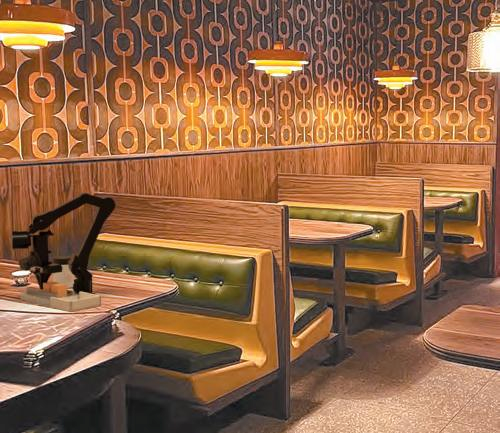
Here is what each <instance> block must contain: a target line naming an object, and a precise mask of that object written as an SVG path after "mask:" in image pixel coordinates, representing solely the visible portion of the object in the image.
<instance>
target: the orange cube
mask: <svg viewBox="0 0 500 433" xmlns="http://www.w3.org/2000/svg"><path fill="white" fill-rule="evenodd" d="M67 290H68V288H67V284H62V283H58V284H52V285H51V293H55V294H58V297H61V296H66V295H67Z"/></svg>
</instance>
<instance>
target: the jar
mask: <svg viewBox="0 0 500 433" xmlns="http://www.w3.org/2000/svg"><path fill="white" fill-rule="evenodd" d="M71 256H72V255H57V256H52V264H60V265H61V266H62V272H59V273H52V282H57V283H62V284H67V289H69V288H73V284H74V279H75V276H74V275H73V274H72V273H71V272H70V270H69V263H68V262H69V261H70V259H71Z"/></svg>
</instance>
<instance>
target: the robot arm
mask: <svg viewBox="0 0 500 433" xmlns="http://www.w3.org/2000/svg"><path fill="white" fill-rule="evenodd" d="M84 205H91V206H94V207H95V211H94V218H93V220H92V222H91V224H90V226H89V229H88V231H87V233H86V234H85V237H84V239H83V242H82V243H81V246H80V248H79V250H78V251H77V252H76V254H75V253H73V252H72V254H71V255H70V256H71V259H70V261H69V262H68V263H69V270H70V272H71V273H72V274H73V275H74V284H73V287H72V288H73V289H72V291H75V293H78V294H79V292H85V293H90V294H95V295H96V292H94V291H93V274H92V272H90V271H89V270H88V267H89V266H88V265H89V261H90V260H89V259H90V255H91V253H92V250H93V248H94V246H95V244H96V241H97V239H98V236H99V235H100V233H101V230H102V229H103V226H104V223H105V222H106V221H107V220H108V218H110V217H111V215H112V213H114V212H113V211H114V210H115V209H116V202H115V200H114V199H113V198H112V197H109V196H104V195H103V196H101V197H100V196H96V195H92V194H89V193H88V192H82V193H80V194H79V195H78V194H77V196H75V197H73V198H71V199H70V200H67V201H66V202H63V203H62V204H59V205H58V206H56V207H54V208H52V209H49V210H45V211H42V212H39V213H36V214H34V215H33V216H32V217H31V223H30V225H29V226H28V227H27V228H26V230H12V231H11V240H10V246H11V249H12V250H28V249H29V247H31V246H32V250H30V252H29V255H28V256H25V257H24V258H22V259H20V260H18V261H17V264H18V265H19V269H20V270H22V271H25V272H26V271H29V273H31V274H32V275H34V277H35V279H36V282H37V284H38V288H39V290H40V289H41V290H43V283H46V282H49V279H50V277H51V276H52V275H53V273H59V272H62V266H61V265H60V264H53V260H52V261H51V260H50V254H52V250H51V249H50V239H49V237H51V236H52V237H53V236H55V234H54V233H53V232H52V231H51V229H50V228H49V227H50V226H51V225H53V224H54V223H55V222H56V221H57V220H58V219H61V218H62V217H64V216H65V215H67V214H69V213H72V212H73V211H74V210H76V209H78V208H80V207H82V206H84ZM46 229H47V230H46Z"/></svg>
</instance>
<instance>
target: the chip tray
mask: <svg viewBox="0 0 500 433" xmlns="http://www.w3.org/2000/svg"><path fill="white" fill-rule="evenodd" d="M100 306H102V295H98V294H96V293H95V294H90V293H85V292H79V300H74V301H68V300H64V299H59V298H55V297H50V307H49V308H52V309H57V310H61V311H65V312H69V313H72V312H76V311H82V310H86V309H90V308H96V307H100Z"/></svg>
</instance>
